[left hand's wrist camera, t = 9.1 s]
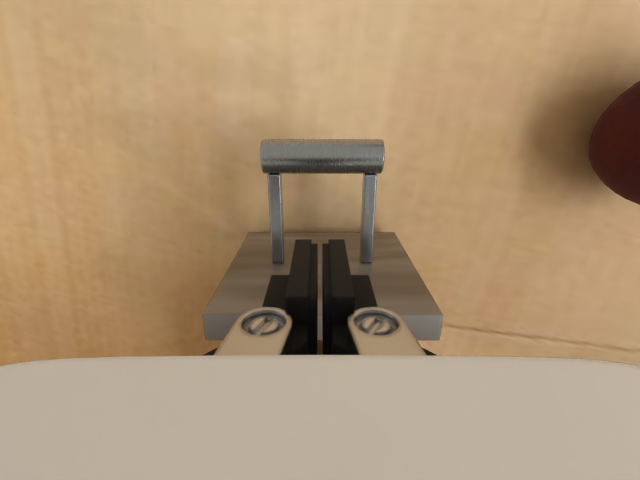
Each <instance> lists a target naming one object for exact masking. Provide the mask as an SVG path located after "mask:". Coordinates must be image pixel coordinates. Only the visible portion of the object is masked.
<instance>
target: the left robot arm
mask: <svg viewBox="0 0 640 480" xmlns="http://www.w3.org/2000/svg"><path fill="white" fill-rule="evenodd" d="M317 337H318V245H317V243H311V239H296V240H295V246H294V251H293V257H292V262H291V268H290V273H289V275H271V278H270V281H269V285H268V288H267V292H266V295H265V299H264V302H263V305H262V307H260V308H255V309H252V310H249V311H247V312H245V313H243V314H242V315H241V316H240V317H239V318H238V319H237V320H236V321H235V323H234V324H233V326H232V327H231V329H230V330H229V332H228V334H227V335H226V337H225V338H224V340H223V341H222V343H221V344H220V346H219V347H218V348H216V349H214V350H212V351H210V352H208V353H206V354H204V355H202V356H125V357H93V358H66V359H51V360H37V361H29V362H22V363H14V364H8V365H3V366H0V480H640V366H637V365H631V364H626V363H619V362H610V361H602V360H589V359H573V358H549V357H511V356H438V355H436V354H434V353H432V352H430V351H428V350H426V349H424V348H422V347H421V346H420V344H419V343H418V341H417V340H416V338H415V337H414V335H413V334H412V332H411V330H410V329H409V327H408V326H407V324H406V323H405V321H404V320H403V319H402V318H401V317H400V316H399V315H398V314H397V313H395V312H393V311H391V310H388V309H385V308H380V307H378V305H377V302H376V299H375V295H374V292H373V288H372V285H371V281H370V278H369V275H351V273H350V268H349V262H348V257H347V251H346V246H345V240H344V239H329V243H323V245H322V337H323V355H317Z"/></svg>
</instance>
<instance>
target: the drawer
mask: <svg viewBox="0 0 640 480" xmlns="http://www.w3.org/2000/svg"><path fill="white" fill-rule="evenodd" d="M260 156H261V167H262V171H263V173H269V174H268V192H269V212H270V231H271V232H249V233H248V235H247V237H246V239H245V240H244V242H243V244H242V246H241V248H240V249H239V251H238V253H237V255H236V256H235V258H234V260H233V262H232V263H231V265H230V267H229V269H228V270H227V272H226V274H225V276H224V278H223V279H222V281H221V283H220V285H219V286H218V288H217V290H216V292H215V293H214V295H213V297H212V299H211V300H210V302H209V304H208V306H207V308H206V309H205V311H204V313H203V315H202V317H203V324H204V332H205V339H206V340H224V338H225V337H226V335H227V334H228V332H229V330H230V329H231V327H232V326H233V324H234V323H235V321H236V320H237V319H238V318H239V317H240V316H241V315H242V314H243V313H245V312H247V311H249V310H252V309H255V308H260V307H262V305H263V302H264V299H265V295H266V292H267V288H268V285H269V281H270V278H271V275H289V273H290V268H291V262H292V257H293V251H294V246H295V240H296V239H311V243H317V245H318V337H317V355H323V337H322V245H323V243H329V239H344V240H345V246H346V251H347V257H348V262H349V268H350V273H351V275H369V278H370V281H371V285H372V288H373V292H374V295H375V299H376V302H377V305H378V307H380V308H385V309H388V310H391V311H393V312H395V313H397V314H398V315H399V316H400V317H401V318H402V319H403V320H404V321H405V323H406V324H407V326H408V327H409V329H410V330H411V332H412V334H413V335H414V337H415V338H416V340H439V339H440V334H441V327H442V320H443V314H442V312H441V311H440V309H439V307H438V306H437V304H436V302H435V301H434V299H433V297H432V295H431V294H430V292H429V290H428V289H427V287H426V285H425V284H424V282H423V280H422V278H421V277H420V275H419V273H418V272H417V270H416V268H415V267H414V265H413V263H412V262H411V260H410V258H409V256H408V255H407V253H406V251H405V250H404V248H403V246H402V245H401V243H400V241H399V240H398V238H397V236H396V234H395V233H394V232H374V220H375V203H376V185H377V174H380V173H382V170H383V166H384V142H383V140H382V139H263V140H262V142H261V150H260ZM281 173H283V174H363V187H362V210H361V232H284V227H283V200H282V174H281Z"/></svg>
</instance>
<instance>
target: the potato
mask: <svg viewBox="0 0 640 480" xmlns="http://www.w3.org/2000/svg"><path fill="white" fill-rule="evenodd" d="M589 158H590V161H591V164H592V167H593V170H594V171H595V172H596V174H597V175H598V176H599V178H600V179H601V180H602V181H603V183H604V184H605V185H606V186H608V187H609V188H610V189H611V190H613V191H614V192H615V193H617V194H618V195H620V196H622V197H624V198H625V199H628V200H630V201H632V202H635V203H637V204H639V205H640V81H639V82H637V83H636V84H634V85H633V86H632V87H630V88H629V89H628V90H627V91H625V92H624V93H623V94H621V95H620V96H619V97H618V98H617V99H616V100H615V101H614V102H613V103H612V104H611V105H610V106H609V107H608V108H607V109H606V110H605V112H604V113H603V114H602V115H601V117H600V119H599V120H598V122H597V124H596V126H595V128H594V129H593V133H592V136H591V139H590V149H589Z"/></svg>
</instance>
